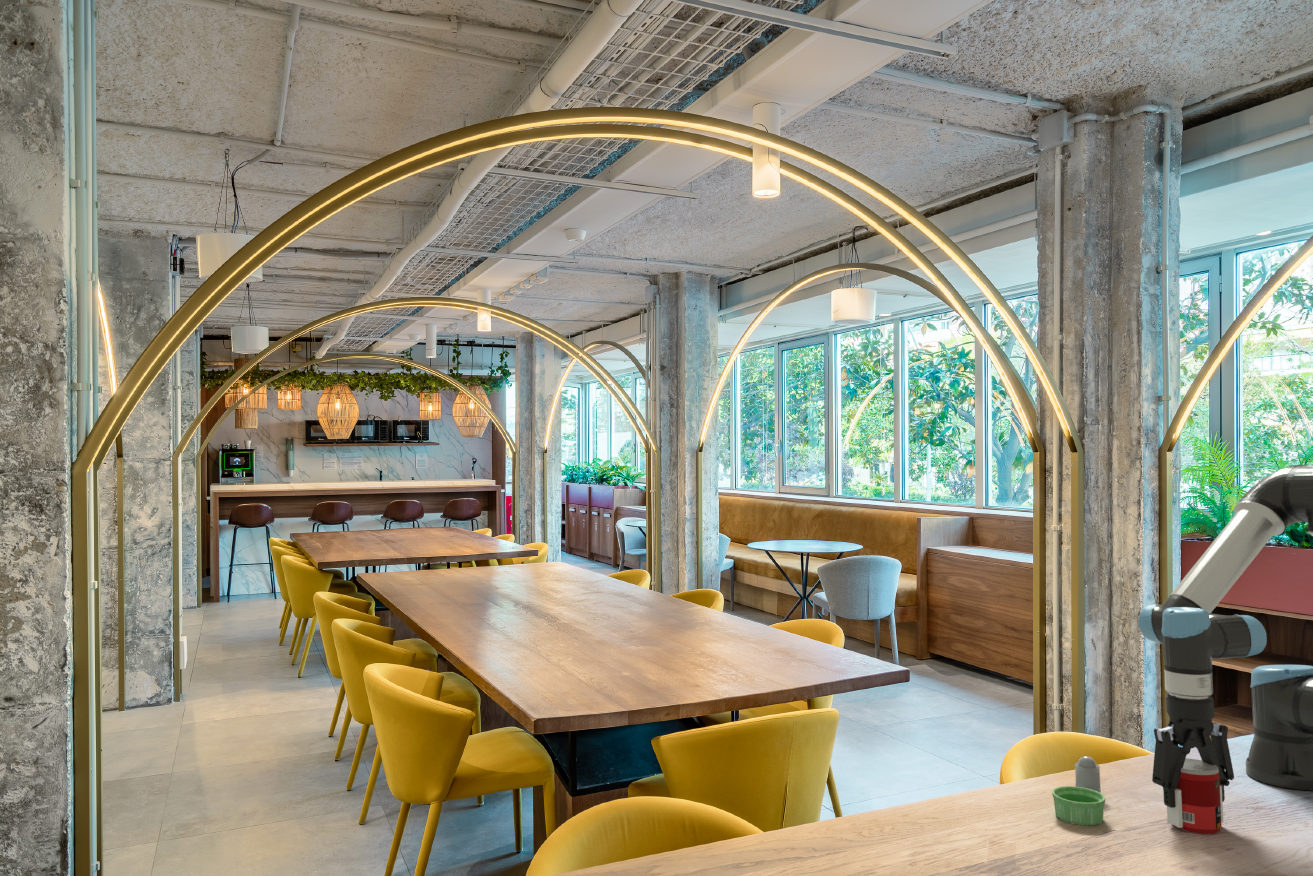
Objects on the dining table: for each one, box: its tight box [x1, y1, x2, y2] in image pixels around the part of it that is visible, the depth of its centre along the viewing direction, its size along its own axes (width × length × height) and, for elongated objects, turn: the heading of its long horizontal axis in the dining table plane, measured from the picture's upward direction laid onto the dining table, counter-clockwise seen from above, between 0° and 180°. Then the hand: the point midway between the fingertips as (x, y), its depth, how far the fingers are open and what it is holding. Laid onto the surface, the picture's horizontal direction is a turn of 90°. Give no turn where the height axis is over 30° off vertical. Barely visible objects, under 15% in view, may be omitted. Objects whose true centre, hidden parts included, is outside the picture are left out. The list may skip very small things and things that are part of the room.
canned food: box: [1169, 757, 1222, 835], centre depth 160 cm, size 8×8×11 cm
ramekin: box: [1051, 785, 1106, 827], centre depth 165 cm, size 9×9×4 cm
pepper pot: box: [1074, 755, 1102, 794], centre depth 176 cm, size 4×4×8 cm
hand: (1195, 822), depth 160 cm, fingers closed on canned food, 8 cm apart
